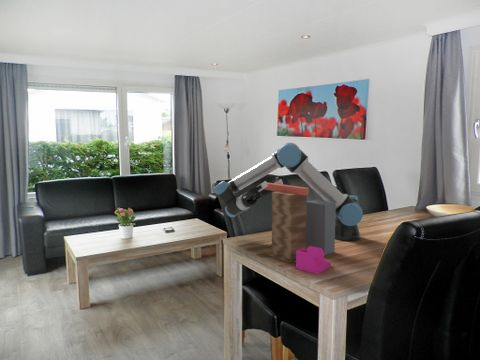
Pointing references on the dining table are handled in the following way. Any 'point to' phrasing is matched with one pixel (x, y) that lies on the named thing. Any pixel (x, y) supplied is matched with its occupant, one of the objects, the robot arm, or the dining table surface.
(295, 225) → the tower
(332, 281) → the dining table surface
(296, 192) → the lever bar
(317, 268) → the bracket
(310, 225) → the block
